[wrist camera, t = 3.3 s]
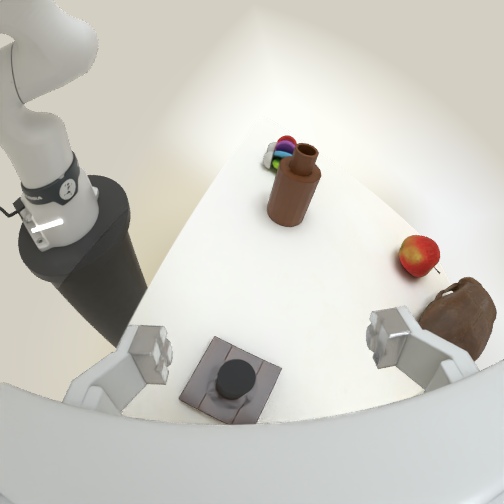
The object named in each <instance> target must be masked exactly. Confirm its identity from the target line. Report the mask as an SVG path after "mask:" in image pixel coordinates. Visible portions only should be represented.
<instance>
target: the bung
mask: <svg viewBox="0 0 504 504" xmlns="http://www.w3.org/2000/svg"><path fill="white" fill-rule="evenodd" d="M255 382H256V374H255V371H254V369H253V367H252V366H251V365H250V364H249V363H248V362H246V361H244V360H240V359H232V360H229V361H227V362H225V363H224V364H223V365H222V366H221V367H220V369H219V371H218V375H217V380H216V388H217V391H218V393H219V394H220V395H221V396H222V397H224V398H226V399H230V400H234V399H238V398H240V397H242V396H243V395H245V394H246V393H248V392H249V391H250V390H251V389H252V388H253V387H254V385H255Z"/></svg>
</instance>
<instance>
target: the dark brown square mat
mask: <svg viewBox="0 0 504 504" xmlns="http://www.w3.org/2000/svg"><path fill="white" fill-rule="evenodd" d="M232 359H240V360H244V361H246V362H248V363H249V364H250V365H251V366H252V367H253V369H254V371H255V374H256V382H255V385H254V387H253V388H252V389H251V390H250V391H249V392H248V393H246V394H245V395H243V396H242V397H240V398H238V399H234V400H230V399H226V398H224V397H222V396H221V395H220V394H219V393H218V391H217V388H216V380H217V375H218V371H219V369H220V367H221V366H222V365H223V364H224V363H225V362H227V361H229V360H232ZM281 369H282V368H280V367H278V366H276V365H274V364H272V363H269V362H267V361H265V360H263V359H261V358H258V357H256V356H254V355H252V354H250V353H248V352H246V351H244V350H242V349H240V348H238V347H236V346H234V345H233V346H232V344H230V343H228V342H226V341H224V340H222V339H220V338H218V337H216V336H214V338H213V340H212V341H211V343H210V345H209V347H208V349H207V350H206V352H205V354H204V355H203V357H202V359H201V361H200V362H199V364H198V366H197V368H196V369H195V371H194V373H193V375H192V376H191V378H190V380H189V382H188V383H187V385H186V387H185V389H184V390H183V392H182V394H181V395H180V397H179V399H180V400H181V401H183V402H185V403H187V404H188V405H190V406H192V407H194V408H196V409H198V410H200V411H202V412H204V413H206V414H208V415H210V416H212V417H214V418H216V419H218V420H220V421H222V422H224V423H226V424H228V425H244V424H256V422H257V420H258V418H259V416H260V414H261V412H262V410H263V408H264V406H265V404H266V402H267V400H268V398H269V395H270V393H271V391H272V389H273V387H274V385H275V383H276V380H277V378H278V376H279V374H280V372H281Z"/></svg>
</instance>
